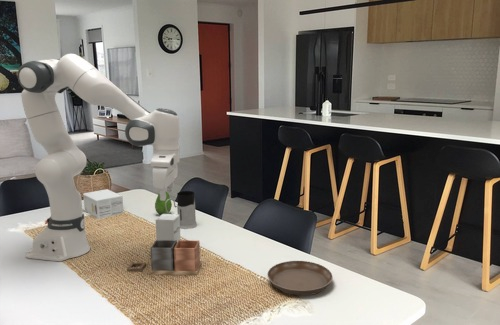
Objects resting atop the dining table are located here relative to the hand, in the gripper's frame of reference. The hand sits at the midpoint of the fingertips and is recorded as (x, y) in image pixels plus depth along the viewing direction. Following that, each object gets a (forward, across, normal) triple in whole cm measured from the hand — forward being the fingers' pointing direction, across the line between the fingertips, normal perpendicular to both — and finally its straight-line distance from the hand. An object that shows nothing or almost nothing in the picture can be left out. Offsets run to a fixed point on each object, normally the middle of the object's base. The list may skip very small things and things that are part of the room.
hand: (166, 196), depth 152 cm
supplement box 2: (+25, -15, -3) cm, 29 cm away
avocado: (+26, -56, -15) cm, 63 cm away
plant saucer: (+23, +13, +46) cm, 54 cm away
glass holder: (+25, -39, -3) cm, 46 cm away
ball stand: (+25, +4, -10) cm, 27 cm away
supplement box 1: (+27, -59, -46) cm, 79 cm away
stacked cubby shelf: (+25, +4, +4) cm, 25 cm away
